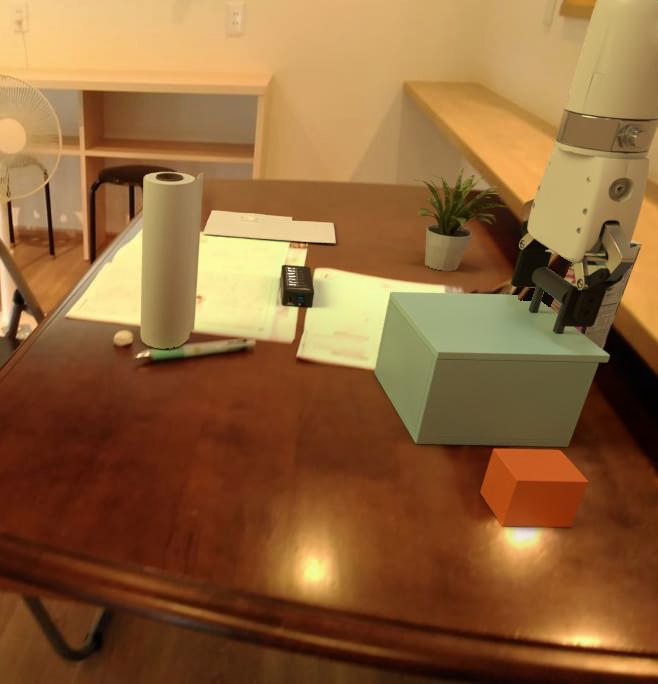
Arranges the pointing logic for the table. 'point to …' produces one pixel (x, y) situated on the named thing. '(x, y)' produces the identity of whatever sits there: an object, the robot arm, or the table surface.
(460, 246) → the house plant
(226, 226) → the paper
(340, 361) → the table surface
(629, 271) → the candy bar box
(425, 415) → the box
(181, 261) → the paper towel roll
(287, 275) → the multiport hub
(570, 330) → the freezer lid
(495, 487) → the block
